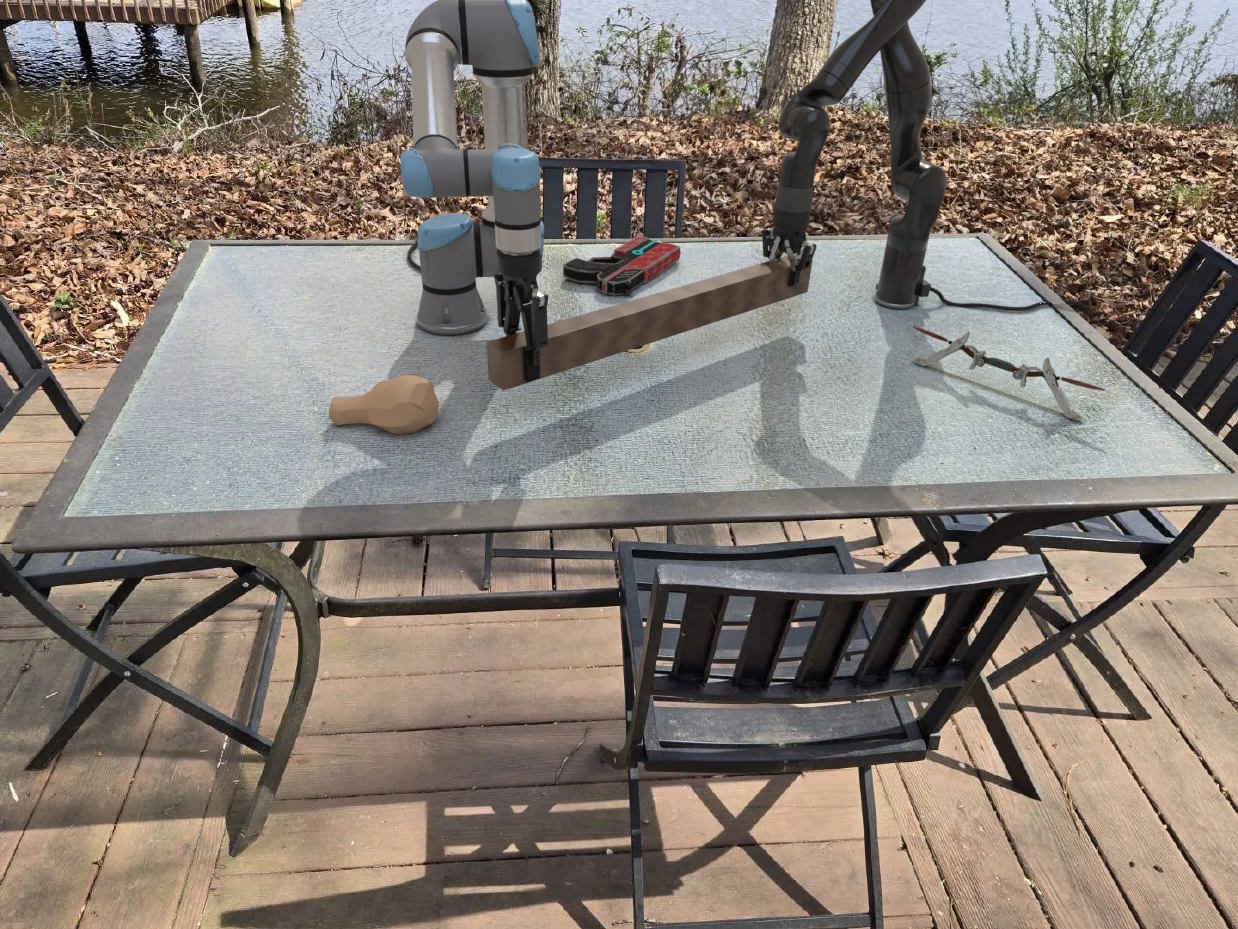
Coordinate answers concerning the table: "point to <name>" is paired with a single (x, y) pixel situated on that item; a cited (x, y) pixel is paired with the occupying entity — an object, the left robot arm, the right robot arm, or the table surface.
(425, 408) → the squash
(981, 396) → the table surface
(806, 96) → the right robot arm
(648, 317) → the post
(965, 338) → the bow
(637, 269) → the gun
